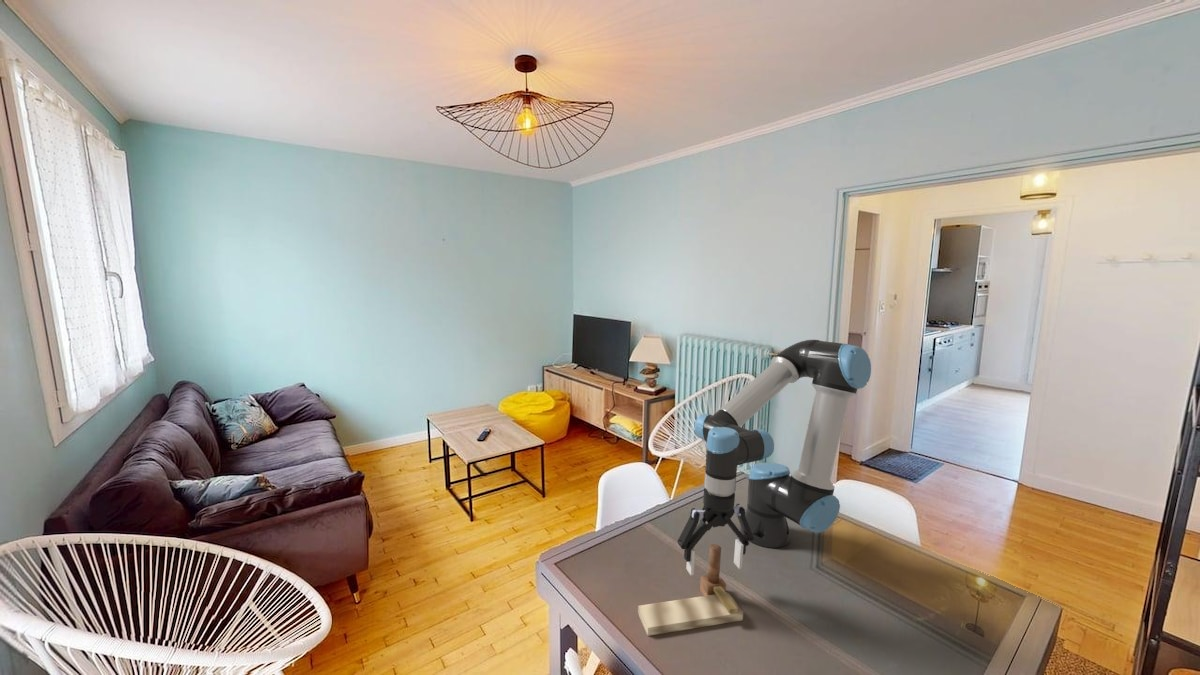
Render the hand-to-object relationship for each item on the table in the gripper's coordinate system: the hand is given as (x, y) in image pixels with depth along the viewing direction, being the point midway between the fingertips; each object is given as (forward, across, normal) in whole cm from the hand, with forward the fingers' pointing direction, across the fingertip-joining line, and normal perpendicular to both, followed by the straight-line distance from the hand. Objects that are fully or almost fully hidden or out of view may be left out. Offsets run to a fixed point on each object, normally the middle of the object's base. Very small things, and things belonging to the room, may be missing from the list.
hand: (714, 568), depth 113 cm
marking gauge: (+7, 0, +4) cm, 8 cm away
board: (+7, +9, +6) cm, 13 cm away
